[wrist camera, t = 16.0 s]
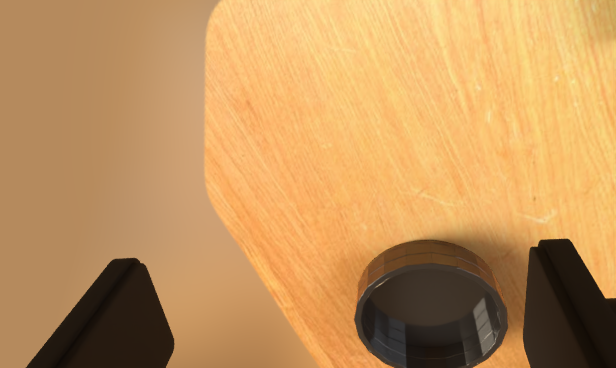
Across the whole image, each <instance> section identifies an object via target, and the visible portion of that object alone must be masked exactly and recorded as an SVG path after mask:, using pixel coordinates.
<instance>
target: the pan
mask: <svg viewBox="0 0 616 368" xmlns="http://www.w3.org/2000/svg"><path fill="white" fill-rule="evenodd" d="M354 321H355V325H356V329H357V333H358V336H359V338H360V339H361V341H362V342H363V344H364V345H365V346H366V348H367V349H368V351H369V352H370V353H372V354H373V355H374V356H376V357H377V358H378V359H380V360H381V361H382V362H384V363H385V364H387V365H389V366H392V367H394V368H473V367H475V366H476V365H478V364H480V363H482V362H483V361H485V360H487V359H488V358H489V357H490V356H491V355H492V354H493V353H494V352H495V351H496V350H497V349H498V348H499V347H500V345H501V344H502V342H503V339H504V336H505V334H506V331H507V329H508V319H507V308H506V305H505V302H504V298H503V295H502V292H501V289H500V286H499V284H498V282H497V279H496V277H495V275H494V273H493V272H492V270H491V269H490V267H489V266H488V265H487V264H486V263H485V262H484V261H483V260H482V259H481V258H480V257H478V256H477V255H475V254H474V253H473V252H471V251H469V250H467V249H465V248H463V247H460V246H458V245H455V244H451V243H447V242H442V241H431V240H423V241H413V242H408V243H404V244H400V245H397V246H395V247H392V248H390V249H388V250H386V251H384V252H383V253H381V254H380V255H378V256H377V257H376V258H374V259H373V260H372V261H371V262H370V263H369V264H368V266H367V267H366V269H365V270H364V272H363V273H362V275H361V277H360V280H359V283H358V290H357V296H356V306H355V316H354Z"/></svg>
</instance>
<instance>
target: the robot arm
mask: <svg viewBox="0 0 616 368" xmlns="http://www.w3.org/2000/svg"><path fill="white" fill-rule="evenodd" d="M523 342H524V348H525V352H526V355H527V358H528V361H529V364H530V367H531V368H616V298H609V299H605V297H604V295H603V294H602V292H601V290H600V289H599V287H598V285H597V284H596V282H595V280H594V279H593V277H592V275H591V274H590V272H589V270H588V269H587V267H586V265H585V264H584V262H583V260H582V259H581V257H580V255H579V254H578V252H577V250H576V249H575V247H574V245H573V244H572V242H571V241H570V240H569V239H548V240H540V241H539V244H538V247H531V248H530V252H529V264H528V277H527V290H526V303H525V316H524V328H523ZM173 350H174V338H173V335H172V332H171V330H170V327H169V325H168V322H167V319H166V317H165V314H164V312H163V309H162V306H161V304H160V301H159V298H158V296H157V293H156V291H155V288H154V285H153V283H152V280H151V278H150V275H149V272H148V270H147V268H146V266H145V265H144V264H143V263H140V261H139V260H138V259H136V258H126V259H125V258H124V259H114V260H112V261H111V262H110V263H109V264H108V265H107V267H106V268H105V269H104V270H103V272H102V273H101V274H100V276H99V277H98V278H97V279H96V280H95V282H94V283H93V284H92V286H91V287H90V288H89V289H88V291H87V292H86V293H85V294H84V296H83V297H82V298H81V299H80V301H79V302H78V303H77V304H76V306H75V307H74V308H73V309H72V311H71V312H70V313H69V314H68V316H67V317H66V318H65V319H64V321H63V322H62V323H61V325H60V326H59V327H58V328H57V329H56V331H55V332H54V333H53V334H52V336H51V337H50V338H49V339H48V341H47V342H46V343H45V344H44V346H43V347H42V348H41V349H40V351H39V352H38V353H37V355H36V356H35V357H34V358H33V359H32V361H31V362H30V363H29V364H28V366H27V367H26V368H166V366H167V363H168V361H169V359H170V357H171V355H172V353H173Z"/></svg>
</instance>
